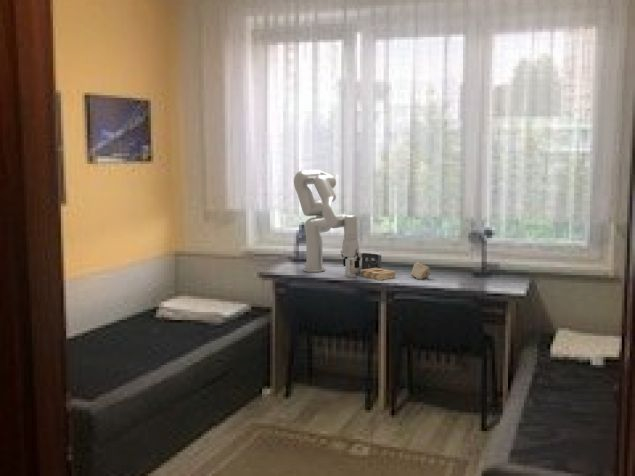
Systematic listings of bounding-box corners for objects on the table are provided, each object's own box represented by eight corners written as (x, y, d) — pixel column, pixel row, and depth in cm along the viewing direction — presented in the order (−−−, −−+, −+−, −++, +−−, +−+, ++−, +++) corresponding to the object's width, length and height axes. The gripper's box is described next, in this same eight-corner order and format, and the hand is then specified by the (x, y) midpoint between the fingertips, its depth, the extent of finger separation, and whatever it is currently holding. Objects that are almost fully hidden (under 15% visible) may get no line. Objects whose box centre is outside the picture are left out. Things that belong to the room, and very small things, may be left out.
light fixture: (385, 270, 412) (386, 252, 411) (376, 272, 401) (377, 254, 400) (369, 269, 417) (369, 251, 416) (359, 271, 406) (360, 253, 405)
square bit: (345, 276, 391) (345, 258, 390) (350, 275, 393) (350, 258, 392) (350, 277, 388) (350, 259, 386) (355, 276, 390) (355, 259, 389)
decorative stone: (417, 274, 395) (418, 260, 393) (432, 279, 381) (432, 264, 380) (405, 276, 391) (405, 261, 390) (419, 280, 378) (419, 265, 377)
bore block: (360, 275, 391) (360, 269, 391) (375, 273, 399) (376, 267, 398) (379, 280, 379) (379, 273, 378) (395, 277, 386) (395, 271, 386)
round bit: (353, 274, 397) (353, 257, 396) (358, 273, 400) (359, 256, 398) (358, 275, 394) (358, 257, 393) (363, 274, 397) (363, 257, 395)
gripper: (335, 236, 392) (336, 266, 394) (355, 238, 378) (356, 269, 380) (346, 235, 397) (346, 264, 398) (366, 237, 383) (366, 267, 385)
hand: (351, 266), depth 389 cm, fingers open, 9 cm apart
